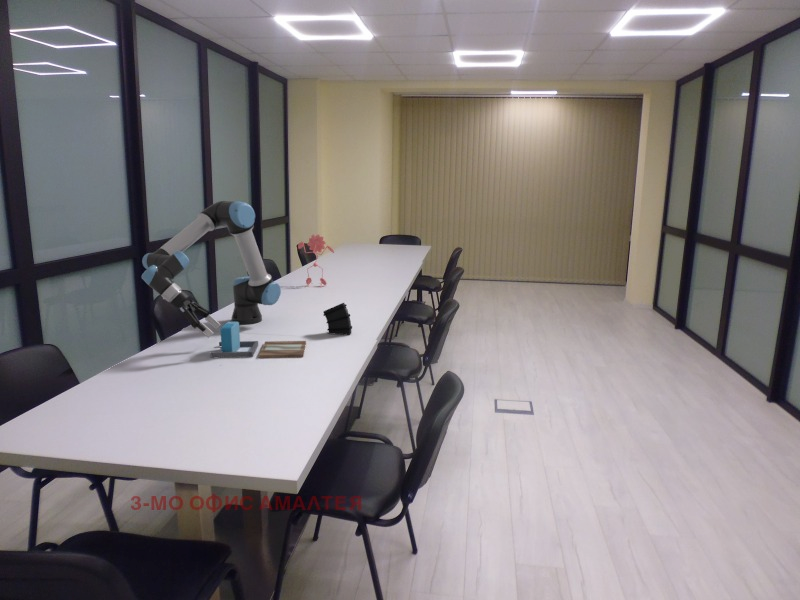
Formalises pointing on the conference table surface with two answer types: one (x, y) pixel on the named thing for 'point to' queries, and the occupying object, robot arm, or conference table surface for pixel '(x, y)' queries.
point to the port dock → (282, 349)
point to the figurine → (315, 245)
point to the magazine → (338, 319)
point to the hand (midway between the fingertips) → (215, 331)
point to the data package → (230, 337)
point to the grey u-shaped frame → (238, 354)
